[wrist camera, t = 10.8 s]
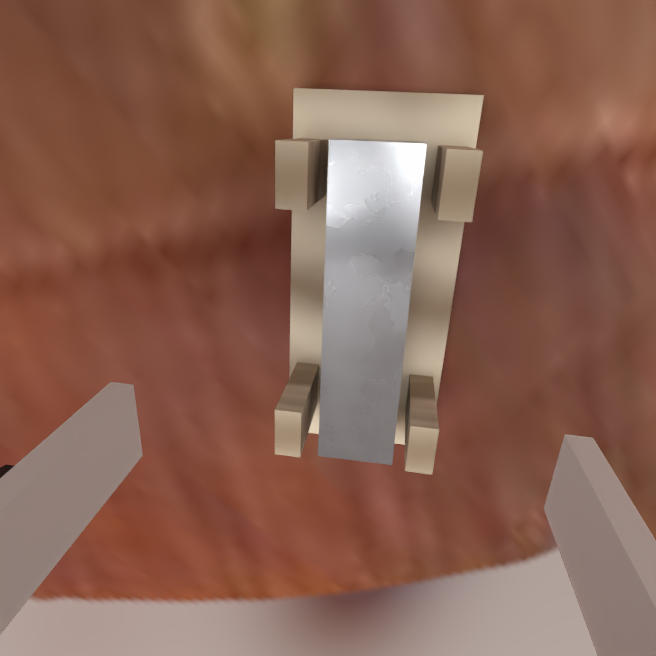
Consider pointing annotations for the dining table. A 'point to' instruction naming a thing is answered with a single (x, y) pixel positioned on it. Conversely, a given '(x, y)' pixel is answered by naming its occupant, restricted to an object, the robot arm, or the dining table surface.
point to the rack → (430, 252)
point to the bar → (367, 292)
